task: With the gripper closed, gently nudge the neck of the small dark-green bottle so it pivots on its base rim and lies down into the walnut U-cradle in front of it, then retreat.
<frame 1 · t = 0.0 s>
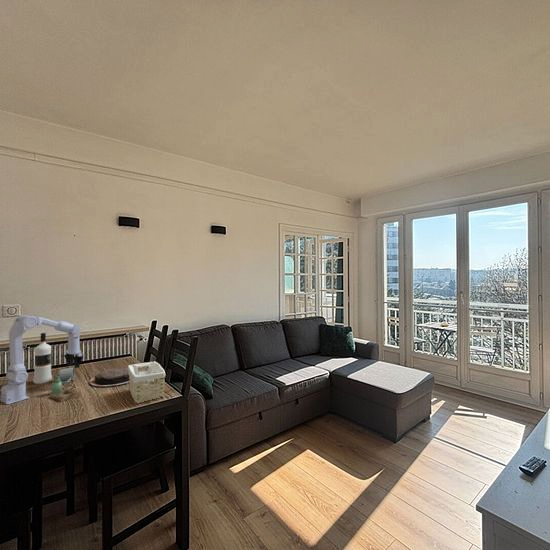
hand: (73, 366, 185), 10 cm above the table, fingers open, 7 cm apart
storage basket: (145, 394, 169), on the table
cradle: (64, 396, 166), on the table
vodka: (42, 382, 187), on the table
ceramic mug: (66, 381, 189), on the table
bottle: (56, 393, 170), on the table
chocolate cake: (115, 380, 192), on the table
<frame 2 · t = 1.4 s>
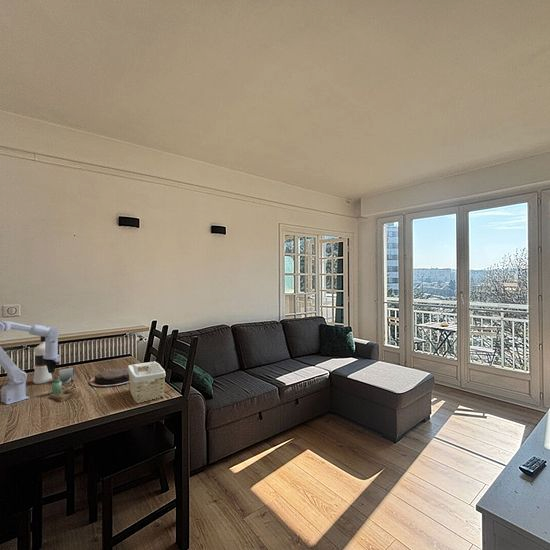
hand: (51, 372, 173), 10 cm above the table, fingers closed
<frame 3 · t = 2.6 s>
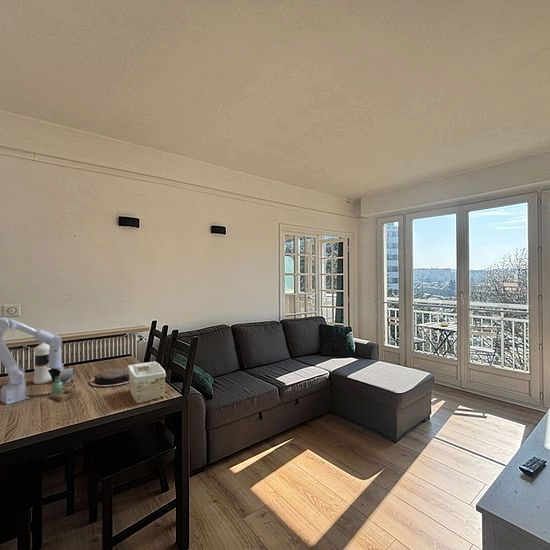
hand: (55, 381, 171), 6 cm above the table, fingers closed, pressing on bottle
bottle: (56, 393, 170), on the table, touching gripper
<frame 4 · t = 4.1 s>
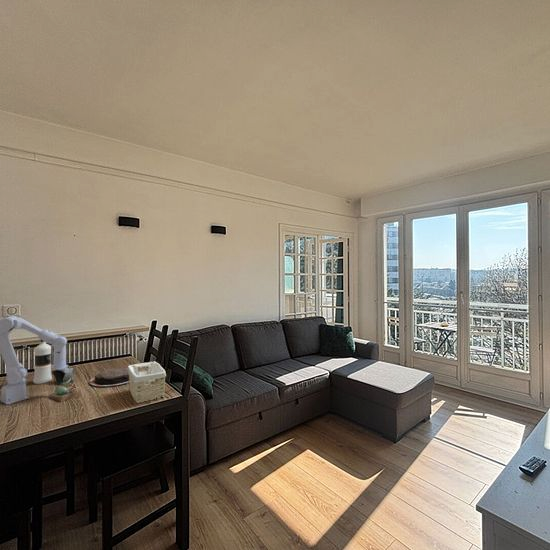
hand: (59, 383, 168), 6 cm above the table, fingers closed
bottle: (59, 390, 169), point 2 cm above the table, tilted 90°
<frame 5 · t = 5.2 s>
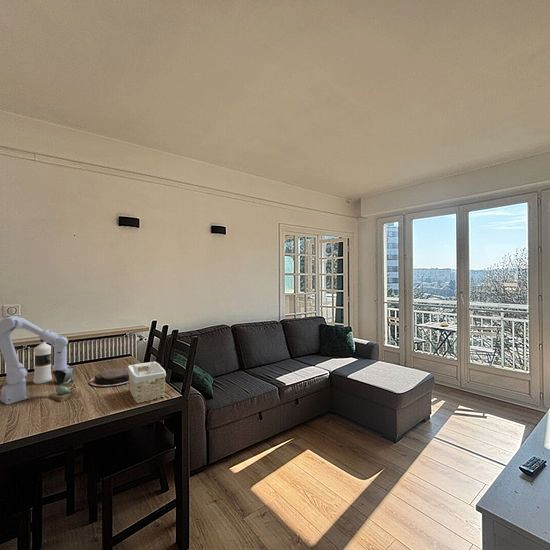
hand: (60, 383, 168), 6 cm above the table, fingers closed
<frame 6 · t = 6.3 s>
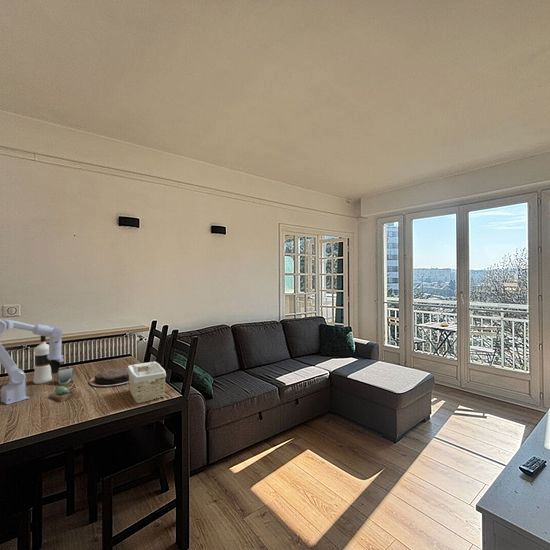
hand: (55, 373, 172), 10 cm above the table, fingers closed
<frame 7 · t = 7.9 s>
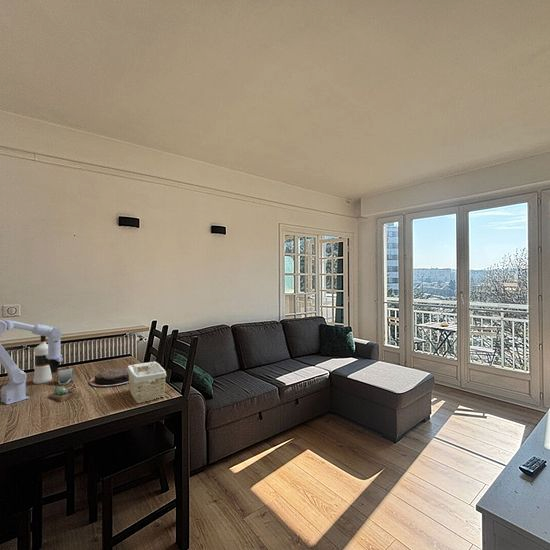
hand: (54, 372, 173), 10 cm above the table, fingers closed
at the end: bottle tilted 90°; bottle inside the target area (1.3 cm from its centre), point 2.1 cm above the table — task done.
